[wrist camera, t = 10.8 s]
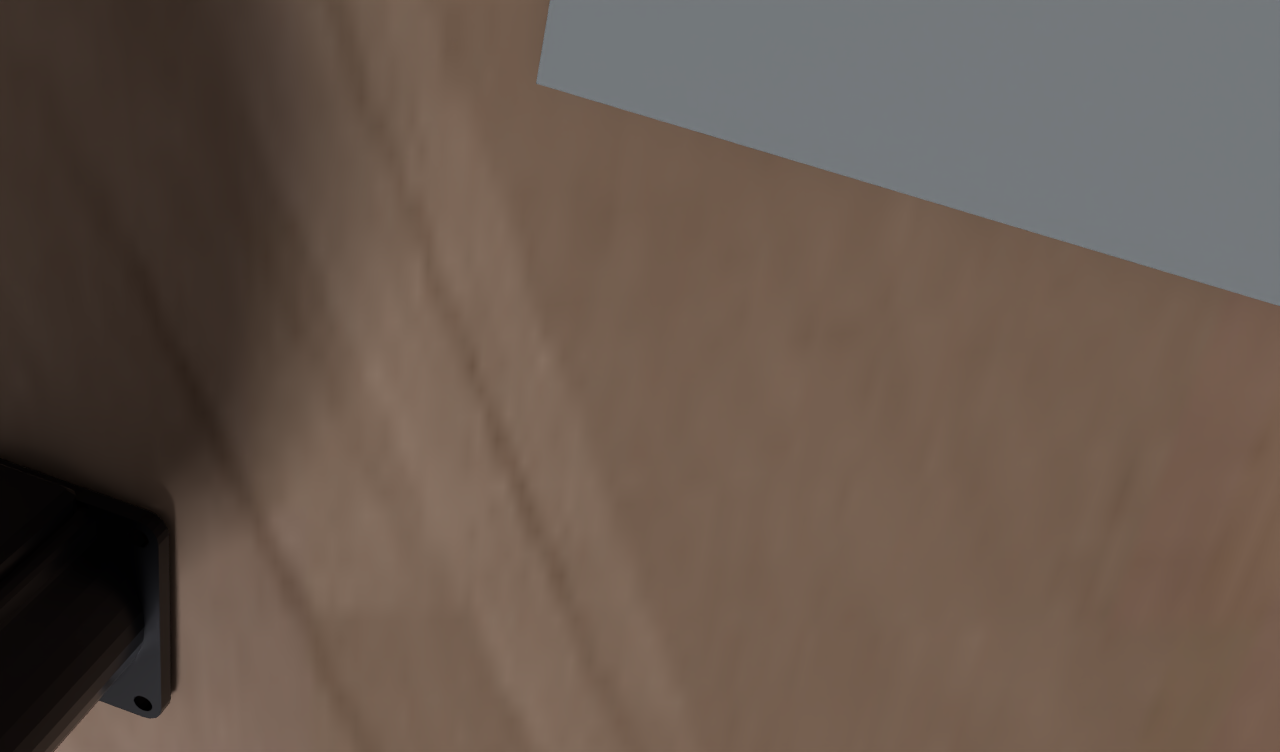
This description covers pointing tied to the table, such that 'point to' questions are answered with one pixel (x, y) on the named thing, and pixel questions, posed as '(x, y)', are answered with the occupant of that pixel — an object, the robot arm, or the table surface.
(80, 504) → the robot arm
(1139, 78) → the shallow gray tray
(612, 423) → the table surface
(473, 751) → the table surface
